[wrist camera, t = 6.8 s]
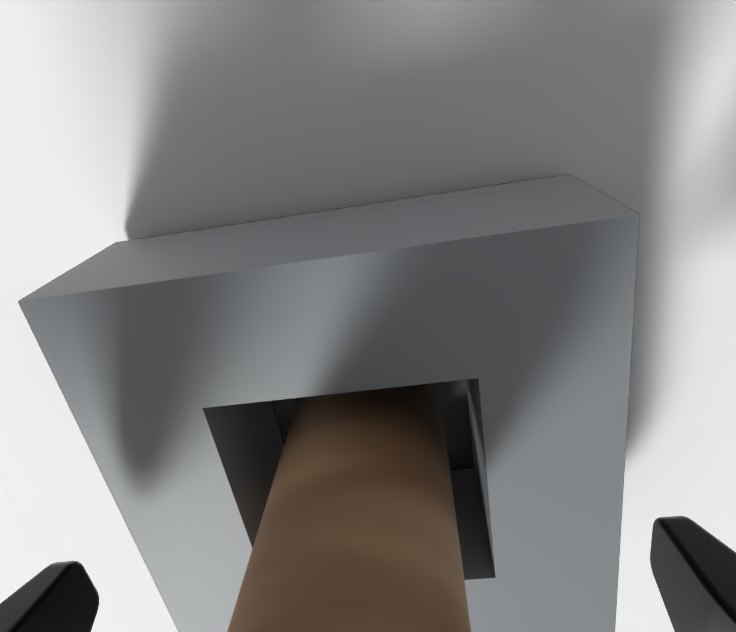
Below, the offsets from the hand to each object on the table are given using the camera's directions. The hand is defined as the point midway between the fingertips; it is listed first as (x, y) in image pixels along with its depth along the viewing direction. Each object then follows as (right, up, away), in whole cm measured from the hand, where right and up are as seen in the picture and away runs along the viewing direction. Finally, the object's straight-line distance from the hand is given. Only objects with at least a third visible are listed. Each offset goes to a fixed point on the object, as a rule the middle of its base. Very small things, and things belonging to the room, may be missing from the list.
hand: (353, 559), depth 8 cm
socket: (0, +2, +4) cm, 4 cm away
